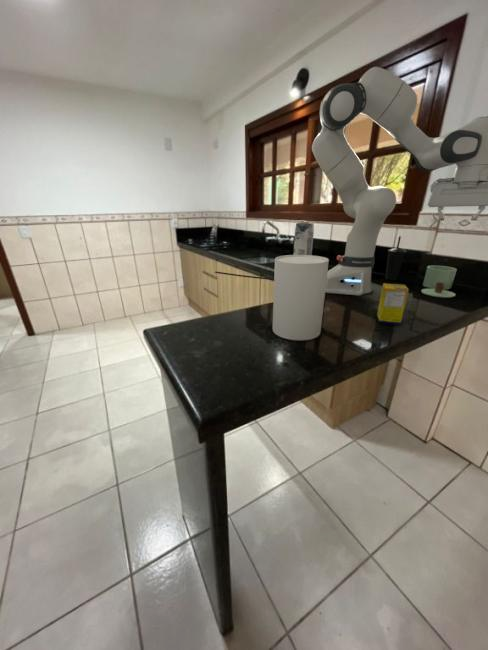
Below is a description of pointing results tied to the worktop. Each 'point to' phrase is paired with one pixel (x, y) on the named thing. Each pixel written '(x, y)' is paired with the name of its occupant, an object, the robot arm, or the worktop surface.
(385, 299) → the supplement box
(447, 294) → the lid
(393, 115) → the robot arm
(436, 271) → the pot
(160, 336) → the worktop surface
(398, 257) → the drinking cup
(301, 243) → the juice carton
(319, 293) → the canister
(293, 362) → the worktop surface
